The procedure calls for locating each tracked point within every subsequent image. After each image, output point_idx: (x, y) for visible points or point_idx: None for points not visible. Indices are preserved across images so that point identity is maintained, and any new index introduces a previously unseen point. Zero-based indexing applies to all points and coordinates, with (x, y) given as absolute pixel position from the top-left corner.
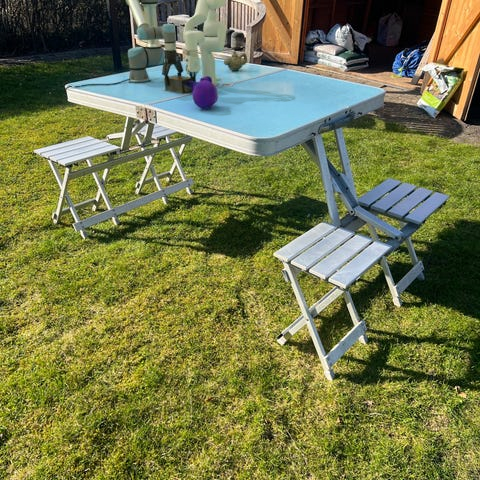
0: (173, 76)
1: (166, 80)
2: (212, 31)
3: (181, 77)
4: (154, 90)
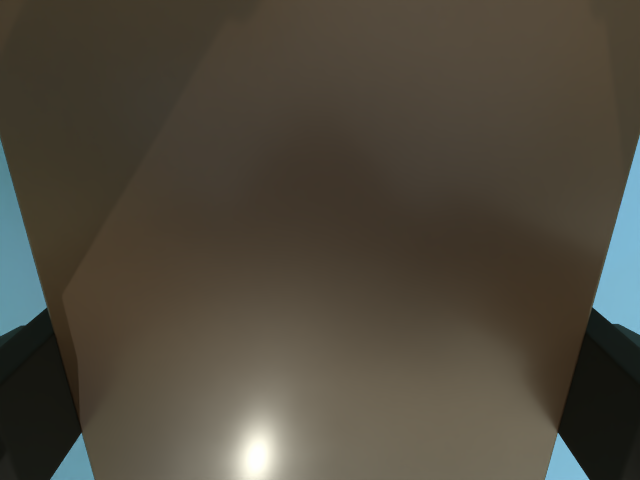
0: (271, 416)
1: (626, 330)
2: None
3: (229, 65)
4: None
